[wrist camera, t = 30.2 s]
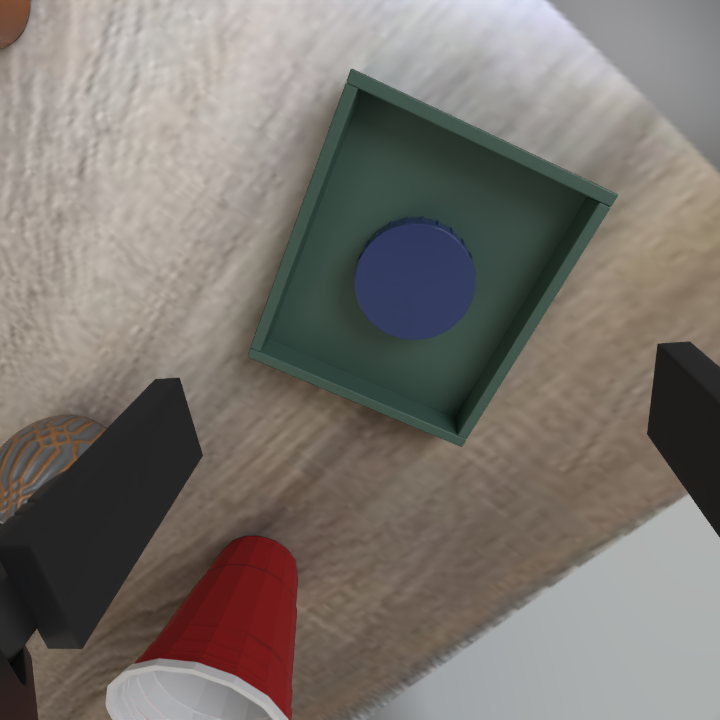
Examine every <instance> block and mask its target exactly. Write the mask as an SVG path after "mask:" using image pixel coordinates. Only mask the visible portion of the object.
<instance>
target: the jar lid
mask: <svg viewBox="0 0 720 720" xmlns="http://www.w3.org/2000/svg"><path fill="white" fill-rule="evenodd" d="M472 259H473V258H472V256H471V253H470V252H468V250H467V248H466V246H465V243H464V240H463V238H462V239H461V238H460V237H459V236H458V235H457V234H456V233H455V232H454V231H453V228H452V227H451V228H449V227H447V226H446V225H444V224H442V223H440V222H439V220H437V221H435V220H432V219H428V218H424V216H422V217H411V218H408V216H406V218H404V219H399V220H397V221H394V222H393V221H391V222H390V224H388V225H386V226H384V227H383V228H381V229H377V232H376V233H375V234H374V235H373V236H372V238H371V239H370V240H367V242H366V244H365V248H364V250H363V252H362V253H360V255H359V257H358V260H357V261H359V262H358V265H357V268H356V271H355V273H354V276H355V293H356V297H357V300H358V303H359V305H360V308H361V309H362V311H363V313H364V314H365V316H366V317H367V318H368V319H369V321H370V322H371V323H372V324H373V325H375V326H376V327H377V328H378V329H380V330H382V331H383V332H385V333H387V334H389V335H391V336H394V337H397V338H401V339H407V340H422V339H427V338H431V337H434V336H437V335H439V334H442V333H444V332H445V331H447V330H449V329H450V328H451V327H453V326H454V325H455V324H456V323H457V322H458V321H459V320H460V319H461V318H462V317H463V316H464V314H465V313H466V311H467V309H468V308H469V306H470V304H471V301H472V299H473V295H474V290H475V275H476V272H475V269H474V266H473V264H472Z"/></svg>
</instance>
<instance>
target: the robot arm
mask: <svg viewBox="0 0 720 720" xmlns="http://www.w3.org/2000/svg"><path fill="white" fill-rule="evenodd" d="M647 435H648V436H649V438H650V439H651V440H652V442H653V443H654V445H655V446H656V448H657V449H658V450H659V452H660V453H661V455H662V456H663V457H664V459H665V460H666V462H667V463H668V465H669V466H670V467H671V469H672V470H673V472H674V473H675V475H676V476H677V477H678V479H679V480H680V482H681V483H682V485H683V486H684V487H685V489H686V490H687V492H688V493H689V494H690V496H691V497H692V499H693V500H694V502H695V503H696V504H697V506H698V507H699V509H700V510H701V512H702V513H703V514H704V516H705V517H706V519H707V520H708V522H709V523H710V524H711V526H712V527H713V529H714V530H715V532H716V533H717V534H718V536H719V537H720V367H719V366H718V365H717V364H715V363H714V362H713V361H712V360H711V359H710V358H708V357H707V356H706V355H705V354H704V353H703V352H701V351H700V350H699V349H698V348H697V347H696V346H694V345H693V344H692V343H691V342H676V343H662V344H658V346H657V354H656V363H655V371H654V380H653V388H652V397H651V405H650V414H649V422H648V431H647ZM202 456H203V454H202V451H201V448H200V444H199V441H198V438H197V434H196V431H195V428H194V424H193V421H192V418H191V414H190V411H189V408H188V404H187V401H186V398H185V394H184V391H183V388H182V384H181V381H180V378H167V379H155V380H154V381H153V382H152V383H151V384H150V385H149V386H148V387H147V388H146V389H145V390H144V391H143V392H142V393H141V394H140V395H139V396H138V397H137V398H136V400H135V401H134V402H133V403H132V404H131V405H130V406H129V407H128V408H127V409H126V410H125V411H124V412H123V413H122V414H121V415H120V416H119V417H118V418H117V419H116V420H115V421H114V422H113V423H112V424H111V425H110V426H109V427H108V428H107V429H106V430H105V431H104V432H103V433H102V434H101V435H100V436H99V437H98V438H97V439H96V440H95V442H94V443H93V444H92V445H91V446H90V447H89V448H88V449H87V450H86V451H85V452H84V453H83V454H82V455H81V456H80V457H79V458H78V459H77V460H76V461H75V462H74V463H73V464H72V465H71V466H70V467H69V468H68V469H67V470H66V471H63V472H61V473H60V474H58V475H57V476H55V477H54V478H52V479H50V480H49V481H47V482H46V483H44V484H43V485H42V486H41V487H40V488H39V489H38V490H37V491H36V492H35V493H33V494H32V495H31V496H30V497H29V498H28V499H27V503H23V504H22V505H21V506H20V507H19V508H18V509H17V510H16V511H15V512H14V516H10V517H9V518H8V519H7V520H6V521H5V522H4V523H3V524H2V525H1V526H0V720H38V713H37V704H36V695H35V686H34V676H33V667H32V658H31V655H30V653H29V651H28V649H27V648H26V646H25V644H26V642H27V641H28V640H29V638H30V637H31V636H32V634H33V633H34V631H35V630H36V629H38V631H39V633H40V635H41V637H42V638H43V640H44V642H45V644H46V646H47V648H48V649H82V648H83V647H84V645H85V644H86V642H87V640H88V639H89V637H90V636H91V634H92V632H93V631H94V629H95V628H96V626H97V624H98V623H99V621H100V620H101V618H102V616H103V615H104V613H105V612H106V610H107V608H108V607H109V605H110V603H111V602H112V600H113V599H114V597H115V595H116V594H117V592H118V591H119V589H120V587H121V586H122V584H123V583H124V581H125V579H126V578H127V576H128V575H129V573H130V571H131V570H132V568H133V567H134V565H135V563H136V562H137V560H138V559H139V557H140V555H141V554H142V552H143V551H144V549H145V547H146V546H147V544H148V543H149V541H150V539H151V538H152V536H153V535H154V533H155V531H156V530H157V528H158V527H159V525H160V523H161V522H162V520H163V519H164V517H165V515H166V514H167V512H168V511H169V509H170V507H171V506H172V504H173V502H174V501H175V499H176V498H177V496H178V494H179V493H180V491H181V490H182V488H183V486H184V485H185V483H186V482H187V480H188V478H189V477H190V475H191V474H192V472H193V470H194V469H195V467H196V466H197V464H198V462H199V461H200V459H201V458H202Z"/></svg>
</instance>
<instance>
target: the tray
mask: <svg viewBox="0 0 720 720" xmlns="http://www.w3.org/2000/svg"><path fill="white" fill-rule="evenodd" d="M617 196H618V195H617V194H616V193H614V192H612V191H610V190H607V189H605V188H603V187H601V186H599V185H597V184H595V183H593V182H591V181H588V180H586V179H584V178H582V177H580V176H578V175H576V174H574V173H572V172H569V171H567V170H565V169H563V168H561V167H559V166H557V165H555V164H553V163H550V162H548V161H546V160H544V159H542V158H540V157H538V156H536V155H534V154H531V153H529V152H527V151H525V150H523V149H521V148H519V147H517V146H515V145H512V144H510V143H508V142H506V141H504V140H502V139H500V138H498V137H495V136H493V135H491V134H489V133H487V132H485V131H483V130H481V129H479V128H476V127H474V126H472V125H470V124H468V123H466V122H464V121H462V120H460V119H457V118H455V117H453V116H451V115H449V114H447V113H445V112H443V111H441V110H438V109H436V108H434V107H432V106H430V105H428V104H426V103H424V102H422V101H419V100H417V99H415V98H413V97H411V96H409V95H407V94H405V93H403V92H400V91H398V90H396V89H394V88H392V87H390V86H388V85H386V84H384V83H381V82H379V81H377V80H375V79H373V78H371V77H369V76H367V75H365V74H362V73H360V72H358V71H356V70H354V69H351V70H350V73H349V76H348V78H347V83H346V84H345V87H344V89H343V92H342V95H341V98H340V101H339V103H338V106H337V109H336V112H335V114H334V117H333V120H332V123H331V126H330V128H329V131H328V134H327V137H326V139H325V142H324V145H323V148H322V150H321V153H320V156H319V159H318V162H317V164H316V167H315V170H314V173H313V175H312V178H311V181H310V184H309V187H308V189H307V192H306V195H305V198H304V200H303V203H302V206H301V209H300V212H299V214H298V217H297V220H296V223H295V225H294V228H293V231H292V234H291V236H290V239H289V242H288V245H287V248H286V250H285V253H284V256H283V259H282V261H281V264H280V267H279V270H278V273H277V275H276V278H275V281H274V284H273V286H272V289H271V292H270V295H269V297H268V300H267V303H266V306H265V309H264V311H263V314H262V317H261V320H260V322H259V325H258V328H257V331H256V334H255V336H254V339H253V342H252V345H251V348H250V350H249V353H248V357H249V358H251V359H254V360H256V361H259V362H261V363H263V364H266V365H268V366H270V367H273V368H275V369H278V370H280V371H282V372H285V373H287V374H289V375H292V376H294V377H297V378H299V379H301V380H304V381H306V382H308V383H311V384H313V385H316V386H318V387H320V388H323V389H325V390H327V391H330V392H332V393H335V394H337V395H339V396H342V397H344V398H346V399H349V400H351V401H354V402H356V403H358V404H361V405H363V406H365V407H368V408H370V409H373V410H375V411H377V412H380V413H382V414H384V415H387V416H389V417H392V418H394V419H396V420H399V421H401V422H403V423H406V424H408V425H411V426H413V427H415V428H418V429H420V430H422V431H425V432H427V433H430V434H432V435H434V436H437V437H439V438H441V439H444V440H446V441H449V442H451V443H453V444H456V445H458V446H460V447H462V446H463V444H464V443H465V441H466V439H467V438H468V436H469V435H470V433H471V431H472V430H473V428H474V427H475V425H476V423H477V422H478V420H479V418H480V417H481V415H482V414H483V412H484V410H485V409H486V407H487V406H488V404H489V402H490V401H491V399H492V398H493V396H494V394H495V393H496V391H497V390H498V388H499V386H500V385H501V383H502V381H503V380H504V378H505V377H506V375H507V373H508V372H509V370H510V369H511V367H512V365H513V364H514V362H515V361H516V359H517V357H518V356H519V354H520V353H521V351H522V349H523V348H524V346H525V344H526V343H527V341H528V340H529V338H530V336H531V335H532V333H533V332H534V330H535V328H536V327H537V325H538V324H539V322H540V320H541V319H542V317H543V316H544V314H545V312H546V311H547V309H548V307H549V306H550V304H551V303H552V301H553V299H554V298H555V296H556V295H557V293H558V291H559V290H560V288H561V287H562V285H563V283H564V282H565V280H566V278H567V277H568V275H569V274H570V272H571V270H572V269H573V267H574V266H575V264H576V262H577V261H578V259H579V258H580V256H581V254H582V253H583V251H584V250H585V248H586V246H587V245H588V243H589V241H590V240H591V238H592V237H593V235H594V233H595V232H596V230H597V229H598V227H599V225H600V224H601V222H602V221H603V219H604V217H605V216H606V214H607V213H608V211H609V209H610V207H611V206H612V204H613V203H614V201H615V200H616V198H617ZM406 216H408V218H411V217H422V216H424V218H428V219H432V220H435V221H437V220H439V222H440V223H442V224H444V225H446V226H447V227H449V228H451V227H452V228H453V231H454V232H455V233H456V234H457V235H458V236H459V237H460V238H461V239H462V238H463V240H464V243H465V246H466V248H467V250H468V252H470V253H471V256H472V258H473V259H472V264H473V266H474V269H475V272H476V275H475V290H474V295H473V299H472V301H471V304H470V306H469V308H468V309H467V311H466V313H465V314H464V316H463V317H462V318H461V319H460V320H459V321H458V322H457V323H456V324H455V325H454V326H453V327H451V328H450V329H449V330H447V331H445V332H444V333H442V334H439V335H437V336H434V337H431V338H427V339H422V340H407V339H401V338H397V337H394V336H391V335H389V334H387V333H385V332H383V331H382V330H380V329H378V328H377V327H376V326H375V325H373V324H372V323H371V322H370V321H369V319H368V318H367V317H366V316H365V314H364V313H363V311H362V309H361V308H360V305H359V303H358V300H357V297H356V293H355V276H354V273H355V271H356V268H357V265H358V262H359V261H357V260H358V257H359V255H360V253H362V252H363V250H364V248H365V244H366V242H367V240H370V239H371V238H372V236H373V235H374V234H375V233H376V232H377V229H381V228H383V227H384V226H386V225H388V224H390V222H391V221H393V222H394V221H397V220H399V219H404V218H406Z"/></svg>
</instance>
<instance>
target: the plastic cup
mask: <svg viewBox="0 0 720 720" xmlns="http://www.w3.org/2000/svg"><path fill="white" fill-rule="evenodd" d="M297 586H298V576H297V568H296V562H295V559H294V558H293V556H292V555H291V554H290V552H289V551H288V550H287V549H286V548H285V547H283V546H282V545H280V544H279V543H277V542H276V541H274V540H271V539H267V538H264V537H261V536H245V537H242V538H239V539H237V540H234V541H232V542H231V543H230V544H229V545H228V546H227V547H226V548H225V549H224V550H223V551H222V552H221V553H220V554H219V556H218V557H217V558H216V560H215V561H214V563H213V564H212V566H211V567H210V568H209V570H208V571H207V573H206V574H205V575H204V576H203V577H202V578H201V579H200V580H199V581H198V583H197V584H196V586H195V587H194V588H193V590H192V591H191V592H190V594H189V595H188V596H187V598H186V599H185V601H184V602H183V603H182V605H181V606H180V607H179V609H178V610H177V611H176V613H175V614H174V616H173V617H172V618H171V620H170V621H169V622H168V624H167V625H166V627H165V628H164V629H163V631H162V632H161V633H160V635H159V636H158V637H157V639H156V640H155V641H154V642H153V643H152V644H151V645H150V646H149V647H148V648H147V650H146V651H145V652H144V654H143V655H142V656H141V657H140V658H138V659H137V661H136V662H135V663H134V664H132V665H130V666H129V667H127V668H126V669H125V670H124V671H123V672H122V673H121V674H120V675H118V676H117V677H116V678H115V679H114V680H113V681H112V682H111V683H110V684H109V685H108V686H107V696H106V708H107V710H108V712H109V714H110V716H111V718H112V720H291V717H292V709H291V702H292V692H293V691H292V673H293V660H294V646H295V633H296V619H297V608H296V599H297Z"/></svg>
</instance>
